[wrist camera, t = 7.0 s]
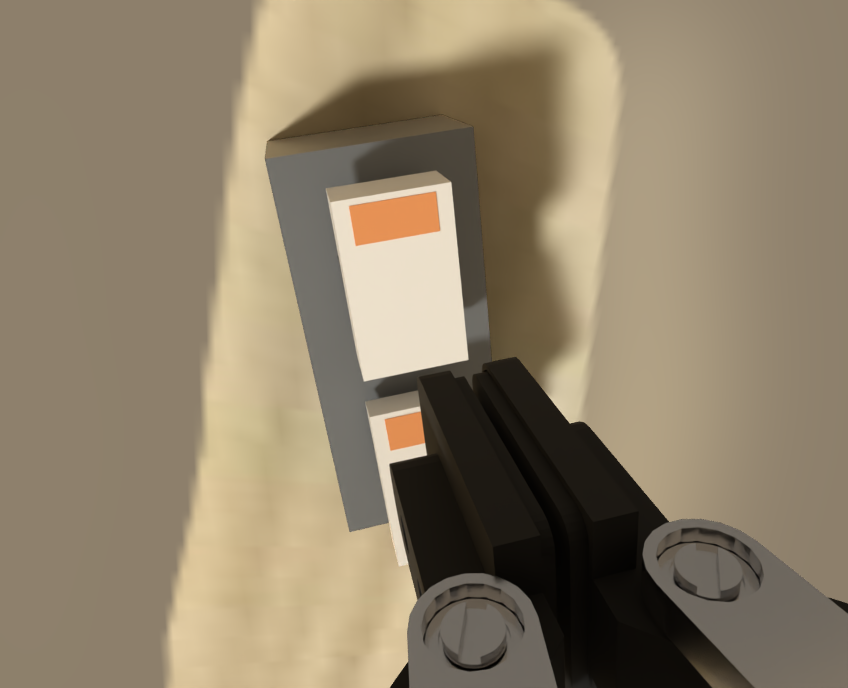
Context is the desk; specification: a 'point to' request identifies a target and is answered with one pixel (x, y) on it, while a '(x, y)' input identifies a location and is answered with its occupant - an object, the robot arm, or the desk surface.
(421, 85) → the desk surface
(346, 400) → the rocker switch panel
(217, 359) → the desk surface
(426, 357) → the rocker
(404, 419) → the rocker
